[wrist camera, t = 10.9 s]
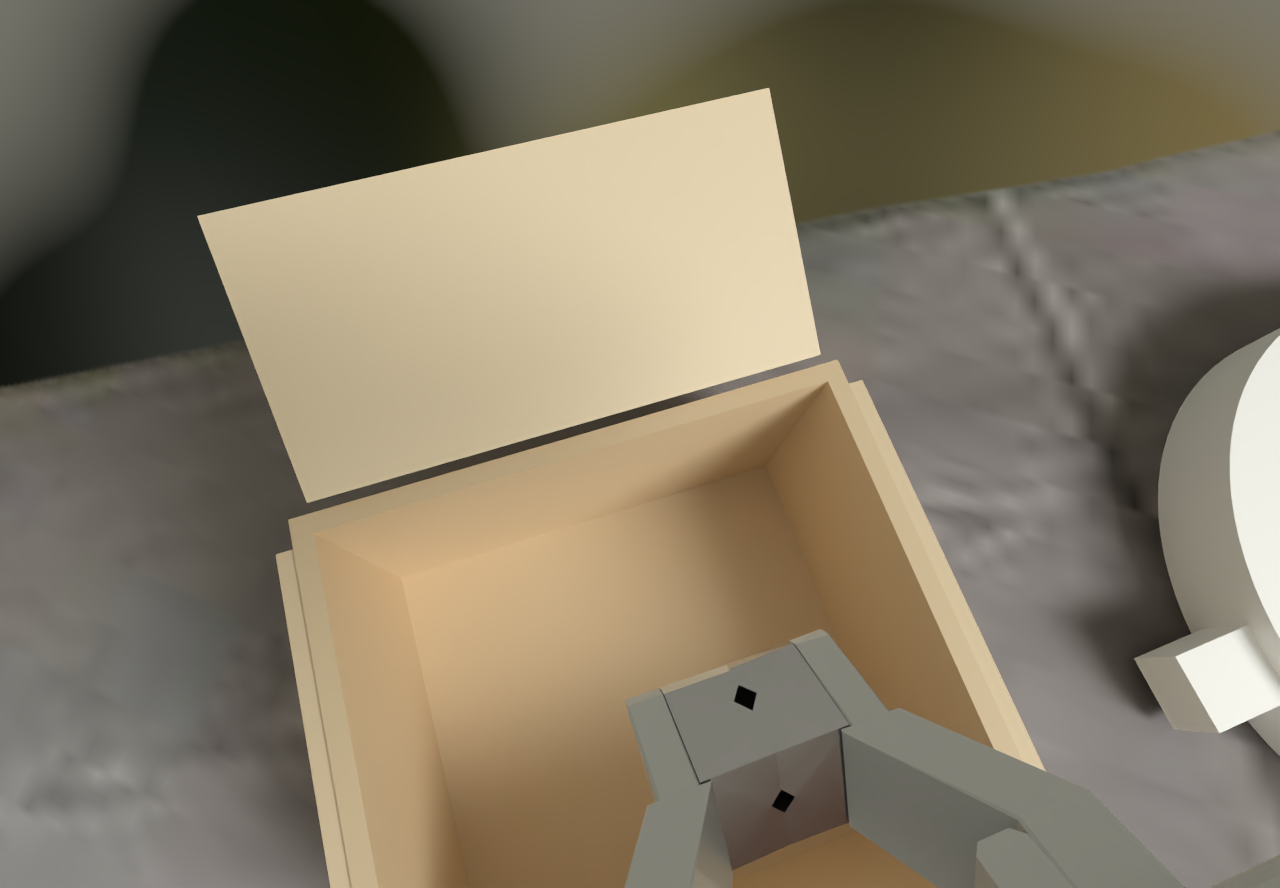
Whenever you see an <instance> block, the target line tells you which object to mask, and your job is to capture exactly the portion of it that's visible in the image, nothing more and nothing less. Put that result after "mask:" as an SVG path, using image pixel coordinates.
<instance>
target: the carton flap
mask: <svg viewBox="0 0 1280 888" xmlns="http://www.w3.org/2000/svg"><path fill="white" fill-rule="evenodd" d="M197 217H198V220H199V222H200V225H201V227H202V230H203V233H204V235H205V238H206V241H207V243H208V246H209V248H210V251H211V254H212V256H213V259H214V261H215V264H216V267H217V269H218V272H219V274H220V277H221V280H222V282H223V285H224V287H225V290H226V293H227V295H228V298H229V301H230V303H231V306H232V308H233V311H234V314H235V316H236V319H237V321H238V324H239V327H240V329H241V332H242V335H243V337H244V340H245V342H246V345H247V348H248V350H249V353H250V356H251V358H252V361H253V363H254V366H255V369H256V371H257V374H258V376H259V379H260V382H261V384H262V387H263V390H264V392H265V395H266V397H267V400H268V403H269V405H270V408H271V410H272V413H273V416H274V418H275V421H276V424H277V426H278V429H279V431H280V434H281V437H282V439H283V442H284V444H285V447H286V450H287V452H288V455H289V457H290V460H291V463H292V465H293V468H294V471H295V473H296V476H297V478H298V481H299V484H300V486H301V489H302V491H303V494H304V497H305V499H306V502H307V503H309V502H312V501H316V500H319V499H323V498H326V497H330V496H333V495H337V494H340V493H343V492H347V491H350V490H354V489H357V488H361V487H364V486H368V485H371V484H375V483H378V482H382V481H385V480H388V479H392V478H395V477H399V476H402V475H406V474H409V473H413V472H416V471H420V470H423V469H427V468H430V467H433V466H437V465H440V464H444V463H447V462H451V461H454V460H458V459H461V458H465V457H468V456H472V455H475V454H478V453H482V452H485V451H489V450H492V449H496V448H499V447H503V446H506V445H510V444H513V443H517V442H520V441H523V440H527V439H530V438H534V437H537V436H541V435H544V434H548V433H551V432H555V431H558V430H562V429H565V428H568V427H572V426H575V425H579V424H582V423H586V422H589V421H593V420H596V419H600V418H603V417H607V416H610V415H613V414H617V413H620V412H624V411H627V410H631V409H634V408H638V407H641V406H645V405H648V404H652V403H655V402H658V401H662V400H665V399H669V398H672V397H676V396H679V395H683V394H686V393H690V392H693V391H697V390H700V389H703V388H707V387H710V386H714V385H717V384H721V383H724V382H728V381H731V380H735V379H738V378H742V377H745V376H748V375H752V374H755V373H759V372H762V371H766V370H769V369H773V368H776V367H780V366H783V365H787V364H790V363H793V362H797V361H800V360H804V359H807V358H811V357H814V356H818V355H821V354H820V349H819V344H818V339H817V334H816V329H815V323H814V318H813V313H812V308H811V303H810V297H809V292H808V287H807V282H806V277H805V272H804V266H803V261H802V256H801V251H800V246H799V240H798V235H797V230H796V225H795V220H794V215H793V209H792V204H791V199H790V194H789V189H788V183H787V178H786V173H785V168H784V163H783V158H782V152H781V148H780V142H779V137H778V132H777V126H776V121H775V116H774V111H773V106H772V101H771V95H770V90H769V88H766V89H762V90H758V91H753V92H748V93H744V94H740V95H735V96H731V97H726V98H722V99H717V100H713V101H709V102H704V103H700V104H695V105H691V106H686V107H682V108H678V109H673V110H668V111H664V112H659V113H655V114H651V115H646V116H642V117H637V118H633V119H628V120H624V121H619V122H615V123H610V124H606V125H601V126H597V127H592V128H588V129H584V130H579V131H575V132H570V133H566V134H561V135H557V136H552V137H548V138H543V139H539V140H534V141H530V142H526V143H521V144H517V145H513V146H508V147H503V148H499V149H495V150H490V151H485V152H481V153H476V154H472V155H467V156H463V157H459V158H454V159H450V160H445V161H441V162H437V163H432V164H427V165H423V166H419V167H414V168H409V169H405V170H401V171H396V172H392V173H387V174H383V175H379V176H374V177H369V178H365V179H361V180H356V181H351V182H347V183H343V184H338V185H334V186H329V187H325V188H320V189H316V190H311V191H307V192H302V193H298V194H293V195H289V196H285V197H280V198H276V199H271V200H267V201H262V202H258V203H253V204H249V205H245V206H240V207H236V208H231V209H227V210H222V211H218V212H213V213H209V214H205V215H200V216H197Z"/></svg>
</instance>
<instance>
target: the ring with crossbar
mask: <svg viewBox="0 0 1280 888" xmlns="http://www.w3.org/2000/svg"><path fill="white" fill-rule="evenodd" d="M1158 516H1159V526H1160V535H1161V541H1162V547H1163V552H1164V557H1165V561H1166V565H1167V569H1168V573H1169V577H1170V580H1171V583H1172V586H1173V590H1174V593H1175V596H1176V598H1177V601H1178V604H1179V606H1180V609H1181V611H1182V614H1183V616H1184V619H1185V621H1186V623H1187V625H1188V627H1189V630H1190V632H1191V634H1190V635H1187V636H1185V637H1183V638H1180V639H1178V640H1176V641H1173V642H1171V643H1169V644H1166V645H1164V646H1162V647H1159V648H1157V649H1155V650H1152V651H1150V652H1148V653H1145V654H1143V655H1141V656H1138V657H1136V658H1134V660H1135V661H1136V663H1137V665H1138V667H1139V669H1140V670H1141V672H1142V674H1143V676H1144V678H1145V679H1146V681H1147V683H1148V685H1149V687H1150V688H1151V690H1152V692H1153V694H1154V695H1155V697H1156V699H1157V701H1158V703H1159V704H1160V706H1161V708H1162V710H1163V712H1164V713H1165V715H1166V717H1167V719H1168V721H1169V722H1170V724H1171V726H1172V728H1173V729H1174V730H1186V731H1198V732H1210V733H1221V732H1223V731H1226V730H1228V729H1230V728H1232V727H1234V726H1236V725H1239V724H1241V723H1243V722H1245V721H1248V722H1249V723H1250V724H1251V726H1252V727H1253V728H1254V729H1255V731H1256V732H1257V733H1258V734H1259V735H1260V736H1261V737H1262V738H1263V739H1264V740H1265V742H1266V743H1267V744H1268V745H1269V746H1270V747H1271V748H1272V749H1273V750H1274V751H1275V752H1276V753H1277V754H1278V755H1279V756H1280V328H1279V329H1277V330H1275V331H1273V332H1271V333H1269V334H1267V335H1265V336H1264V337H1262V338H1260V339H1258V340H1256V341H1254V342H1252V343H1250V344H1248V345H1246V346H1245V347H1243V348H1241V349H1239V350H1237V351H1235V352H1234V353H1232V354H1231V355H1229V356H1227V357H1226V358H1224V359H1223V360H1222V361H1221V362H1219V363H1218V364H1217V365H1215V366H1214V367H1213V368H1212V369H1211V370H1210V371H1209V372H1208V373H1206V374H1205V375H1204V376H1203V378H1202V379H1201V380H1200V381H1199V382H1198V383H1197V384H1196V385H1195V387H1194V388H1193V389H1192V391H1191V392H1190V393H1189V395H1188V396H1187V397H1186V399H1185V401H1184V402H1183V404H1182V406H1181V407H1180V409H1179V411H1178V413H1177V415H1176V417H1175V419H1174V421H1173V423H1172V426H1171V429H1170V431H1169V434H1168V437H1167V440H1166V444H1165V447H1164V451H1163V456H1162V461H1161V466H1160V474H1159V483H1158Z"/></svg>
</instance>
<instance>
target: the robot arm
mask: <svg viewBox="0 0 1280 888" xmlns="http://www.w3.org/2000/svg"><path fill="white" fill-rule="evenodd" d="M625 702H626V707H627V710H628V714H629V717H630V721H631V724H632V728H633V731H634V735H635V738H636V742H637V745H638V749H639V752H640V756H641V759H642V763H643V766H644V769H645V773H646V776H647V780H648V783H649V786H650V790H651V793H652V796H653V799H654V803H652V804H650V805H647V808H646V812H645V816H644V819H643V823H642V826H641V830H640V833H639V837H638V841H637V844H636V848H635V851H634V855H633V858H632V862H631V865H630V869H629V873H628V876H627V880H626V883H625V887H624V888H732V882H733V872H732V870H735V869H737V868H739V867H741V866H744V865H746V864H748V863H750V862H753V861H755V860H757V859H759V858H761V857H764V856H766V855H768V854H770V853H773V852H775V851H777V850H779V849H782V848H784V847H786V846H788V845H791V844H793V843H796V842H799V841H801V840H804V839H807V838H809V837H812V836H815V835H817V834H820V833H822V832H825V831H828V830H830V829H833V828H836V827H838V826H841V825H844V824H846V823H849V826H850V827H852V828H853V829H855V830H856V831H857V832H859V833H860V834H862V835H863V836H865V837H866V838H868V839H869V840H870V841H872V842H873V843H875V844H876V845H878V846H879V847H881V848H882V849H883V850H885V851H886V852H888V853H889V854H891V855H892V856H894V857H895V858H896V859H898V860H899V861H901V862H902V863H904V864H905V865H906V866H908V867H909V868H911V869H912V870H914V871H915V872H917V873H918V874H919V875H921V876H922V877H924V878H925V879H927V880H928V881H930V882H931V883H932V884H934V885H935V886H937V887H938V888H1185V887H1184V886H1183V885H1182V884H1181V883H1180V882H1179V881H1178V880H1177V879H1176V878H1175V877H1174V876H1173V875H1172V874H1171V873H1170V872H1169V871H1168V870H1167V869H1166V868H1165V867H1164V866H1163V865H1162V864H1161V863H1160V862H1159V861H1158V860H1157V859H1156V858H1155V857H1154V856H1153V854H1152V853H1151V852H1150V851H1149V850H1148V849H1147V848H1146V847H1145V846H1144V845H1143V844H1142V843H1141V842H1140V841H1139V840H1138V839H1137V838H1136V837H1135V836H1134V835H1133V834H1132V833H1131V832H1130V831H1129V830H1128V829H1127V828H1126V827H1125V826H1124V825H1123V824H1122V823H1121V822H1120V821H1119V820H1118V819H1117V818H1116V817H1115V816H1114V815H1113V814H1112V813H1111V812H1110V811H1109V810H1108V809H1107V808H1106V807H1105V806H1104V805H1103V804H1102V803H1101V802H1100V801H1099V800H1098V799H1097V798H1096V797H1095V796H1094V795H1093V794H1092V793H1091V792H1090V791H1089V790H1087V789H1085V788H1082V787H1080V786H1078V785H1076V784H1073V783H1071V782H1069V781H1066V780H1064V779H1062V778H1060V777H1057V776H1055V775H1053V774H1050V773H1048V772H1046V771H1043V770H1041V769H1039V768H1037V767H1034V766H1032V765H1030V764H1027V763H1025V762H1023V761H1021V760H1018V759H1016V758H1014V757H1011V756H1009V755H1007V754H1004V753H1002V752H1000V751H998V750H995V749H993V748H991V747H988V746H986V745H984V744H982V743H979V742H977V741H975V740H972V739H970V738H968V737H966V736H963V735H961V734H959V733H956V732H954V731H952V730H949V729H947V728H945V727H943V726H940V725H938V724H936V723H933V722H931V721H929V720H927V719H924V718H922V717H920V716H917V715H915V714H913V713H910V712H908V711H906V710H904V709H901V708H896V709H893V710H891V711H889V710H888V709H887V708H886V706H885V705H884V704H883V703H882V701H881V700H880V699H879V698H878V696H877V695H876V694H875V692H874V691H873V690H872V689H871V687H870V686H869V685H868V684H867V682H866V681H865V680H864V678H863V677H862V676H861V675H860V673H859V672H858V671H857V670H856V668H855V667H854V666H853V665H852V663H851V662H850V661H849V659H848V658H847V657H846V656H845V654H844V653H843V652H842V651H841V649H840V648H839V647H838V645H837V644H836V643H835V642H834V640H833V639H832V638H831V637H830V635H829V634H828V633H827V632H825V631H824V630H822V629H819V630H816V631H814V632H811V633H808V634H806V635H803V636H800V637H797V638H795V639H792V640H789V642H783V643H781V644H778V645H775V646H773V647H770V648H767V649H765V650H762V651H759V652H757V653H754V654H751V655H749V656H746V657H743V658H741V659H738V660H736V661H733V662H730V663H728V664H725V665H724V666H722V667H719V668H716V669H713V670H710V671H707V672H704V673H701V674H698V675H695V676H692V677H689V678H686V679H683V680H680V681H677V682H674V683H671V684H668V685H665V686H662V687H660V689H659V688H658V689H655V690H652V691H649V692H646V693H643V694H640V695H637V696H634V697H631V698H628V699H625ZM1210 888H1280V855H1278V856H1276V857H1274V858H1272V859H1269V860H1267V861H1265V862H1263V863H1261V864H1259V865H1257V866H1255V867H1252V868H1250V869H1248V870H1246V871H1244V872H1242V873H1240V874H1237V875H1235V876H1233V877H1231V878H1229V879H1227V880H1225V881H1223V882H1220V883H1218V884H1216V885H1214V886H1212V887H1210Z"/></svg>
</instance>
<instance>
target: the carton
mask: <svg viewBox="0 0 1280 888" xmlns="http://www.w3.org/2000/svg"><path fill="white" fill-rule="evenodd" d="M288 522H289V528H290V534H291V540H292V545H293V549H292V550H289V551H286V552H282V553H279V554H276V561H277V567H278V573H279V579H280V585H281V591H282V597H283V603H284V609H285V615H286V621H287V627H288V633H289V639H290V646H291V652H292V658H293V664H294V670H295V676H296V682H297V688H298V694H299V700H300V706H301V712H302V718H303V724H304V730H305V737H306V743H307V749H308V755H309V761H310V767H311V773H312V779H313V785H314V791H315V797H316V803H317V809H318V815H319V821H320V827H321V834H322V840H323V846H324V852H325V858H326V864H327V870H328V876H329V882H330V888H624V887H625V883H626V880H627V876H628V873H629V869H630V865H631V862H632V858H633V855H634V851H635V848H636V844H637V841H638V837H639V833H640V830H641V826H642V823H643V819H644V816H645V812H646V808H647V805H650V804H652V803H654V799H653V796H652V793H651V790H650V786H649V783H648V780H647V776H646V773H645V769H644V766H643V763H642V759H641V756H640V752H639V749H638V745H637V742H636V738H635V735H634V731H633V728H632V724H631V721H630V717H629V714H628V710H627V707H626V702H625V699H628V698H631V697H634V696H637V695H640V694H643V693H646V692H649V691H652V690H655V689H658V688H659V689H660V687H662V686H665V685H668V684H671V683H674V682H677V681H680V680H683V679H686V678H689V677H692V676H695V675H698V674H701V673H704V672H707V671H710V670H713V669H716V668H719V667H722V666H724V665H725V664H728V663H730V662H733V661H736V660H738V659H741V658H743V657H746V656H749V655H751V654H754V653H757V652H759V651H762V650H765V649H767V648H770V647H773V646H775V645H778V644H781V643H783V642H789V640H792V639H795V638H797V637H800V636H803V635H806V634H808V633H811V632H814V631H816V630H819V629H822V630H824V631H825V632H827V633H828V634H829V635H830V637H831V638H832V639H833V640H834V642H835V643H836V644H837V645H838V647H839V648H840V649H841V651H842V652H843V653H844V654H845V656H846V657H847V658H848V659H849V661H850V662H851V663H852V665H853V666H854V667H855V668H856V670H857V671H858V672H859V673H860V675H861V676H862V677H863V678H864V680H865V681H866V682H867V684H868V685H869V686H870V687H871V689H872V690H873V691H874V692H875V694H876V695H877V696H878V698H879V699H880V700H881V701H882V703H883V704H884V705H885V706H886V708H887V709H888V710H889V711H891V710H893V709H896V708H901V709H904V710H906V711H908V712H910V713H913V714H915V715H917V716H920V717H922V718H924V719H927V720H929V721H931V722H933V723H936V724H938V725H940V726H943V727H945V728H947V729H949V730H952V731H954V732H956V733H959V734H961V735H963V736H966V737H968V738H970V739H972V740H975V741H977V742H979V743H982V744H984V745H986V746H988V747H991V748H993V749H995V750H998V751H1000V752H1002V753H1004V754H1007V755H1009V756H1011V757H1014V758H1016V759H1018V760H1021V761H1023V762H1025V763H1027V764H1030V765H1032V766H1034V767H1037V768H1039V769H1041V770H1043V771H1045V769H1044V767H1043V765H1042V763H1041V761H1040V758H1039V756H1038V754H1037V752H1036V750H1035V748H1034V746H1033V743H1032V741H1031V739H1030V737H1029V735H1028V733H1027V731H1026V729H1025V726H1024V724H1023V722H1022V720H1021V718H1020V716H1019V714H1018V711H1017V709H1016V707H1015V705H1014V703H1013V701H1012V699H1011V697H1010V694H1009V692H1008V690H1007V688H1006V686H1005V684H1004V682H1003V679H1002V677H1001V675H1000V673H999V671H998V669H997V667H996V664H995V662H994V660H993V658H992V656H991V654H990V652H989V650H988V647H987V645H986V643H985V641H984V639H983V637H982V635H981V632H980V630H979V628H978V626H977V624H976V622H975V620H974V618H973V615H972V613H971V611H970V609H969V607H968V605H967V603H966V600H965V598H964V596H963V594H962V592H961V590H960V588H959V586H958V583H957V581H956V579H955V577H954V575H953V573H952V571H951V568H950V566H949V564H948V562H947V560H946V558H945V556H944V553H943V551H942V549H941V547H940V545H939V543H938V541H937V539H936V536H935V534H934V532H933V530H932V528H931V526H930V524H929V521H928V519H927V517H926V515H925V513H924V511H923V509H922V507H921V504H920V502H919V500H918V498H917V496H916V494H915V492H914V489H913V487H912V485H911V483H910V481H909V479H908V477H907V474H906V472H905V470H904V468H903V466H902V464H901V462H900V460H899V457H898V455H897V453H896V451H895V449H894V447H893V445H892V442H891V440H890V438H889V436H888V434H887V432H886V430H885V428H884V425H883V423H882V421H881V419H880V417H879V415H878V413H877V410H876V408H875V406H874V404H873V402H872V400H871V398H870V396H869V393H868V391H867V389H866V387H865V385H864V383H863V381H862V380H860V381H857V382H854V383H850V384H849V383H848V381H847V379H846V377H845V375H844V372H843V370H842V368H841V366H840V364H839V362H838V360H835V361H831V362H828V363H824V364H821V365H818V366H814V367H811V368H807V369H804V370H800V371H797V372H794V373H790V374H787V375H783V376H780V377H776V378H773V379H769V380H766V381H763V382H759V383H756V384H752V385H749V386H745V387H742V388H739V389H735V390H732V391H728V392H725V393H721V394H718V395H715V396H711V397H708V398H704V399H701V400H697V401H694V402H690V403H687V404H684V405H680V406H677V407H673V408H670V409H666V410H663V411H660V412H656V413H653V414H649V415H646V416H642V417H639V418H636V419H632V420H629V421H625V422H622V423H618V424H615V425H611V426H608V427H605V428H601V429H598V430H594V431H591V432H587V433H584V434H581V435H577V436H574V437H570V438H567V439H563V440H560V441H557V442H553V443H550V444H546V445H543V446H539V447H536V448H533V449H529V450H526V451H522V452H519V453H515V454H512V455H508V456H505V457H502V458H498V459H495V460H491V461H488V462H484V463H481V464H478V465H474V466H471V467H467V468H464V469H460V470H457V471H454V472H450V473H447V474H443V475H440V476H436V477H433V478H429V479H426V480H423V481H419V482H416V483H412V484H409V485H405V486H402V487H399V488H395V489H392V490H388V491H385V492H381V493H378V494H375V495H371V496H368V497H364V498H361V499H357V500H354V501H350V502H347V503H344V504H340V505H337V506H333V507H330V508H326V509H323V510H320V511H316V512H313V513H309V514H306V515H302V516H299V517H296V518H292V519H289V520H288ZM732 872H733V882H732V888H938V887H937V886H935V885H934V884H932V883H931V882H930V881H928V880H927V879H925V878H924V877H922V876H921V875H919V874H918V873H917V872H915V871H914V870H912V869H911V868H909V867H908V866H906V865H905V864H904V863H902V862H901V861H899V860H898V859H896V858H895V857H894V856H892V855H891V854H889V853H888V852H886V851H885V850H883V849H882V848H881V847H879V846H878V845H876V844H875V843H873V842H872V841H870V840H869V839H868V838H866V837H865V836H863V835H862V834H860V833H859V832H857V831H856V830H855V829H853V828H852V827H850V826H849V823H846V824H844V825H841V826H838V827H836V828H833V829H830V830H828V831H825V832H822V833H820V834H817V835H815V836H812V837H809V838H807V839H804V840H801V841H799V842H796V843H793V844H791V845H788V846H786V847H784V848H782V849H779V850H777V851H775V852H773V853H770V854H768V855H766V856H764V857H761V858H759V859H757V860H755V861H753V862H750V863H748V864H746V865H744V866H741V867H739V868H737V869H735V870H732Z"/></svg>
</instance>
